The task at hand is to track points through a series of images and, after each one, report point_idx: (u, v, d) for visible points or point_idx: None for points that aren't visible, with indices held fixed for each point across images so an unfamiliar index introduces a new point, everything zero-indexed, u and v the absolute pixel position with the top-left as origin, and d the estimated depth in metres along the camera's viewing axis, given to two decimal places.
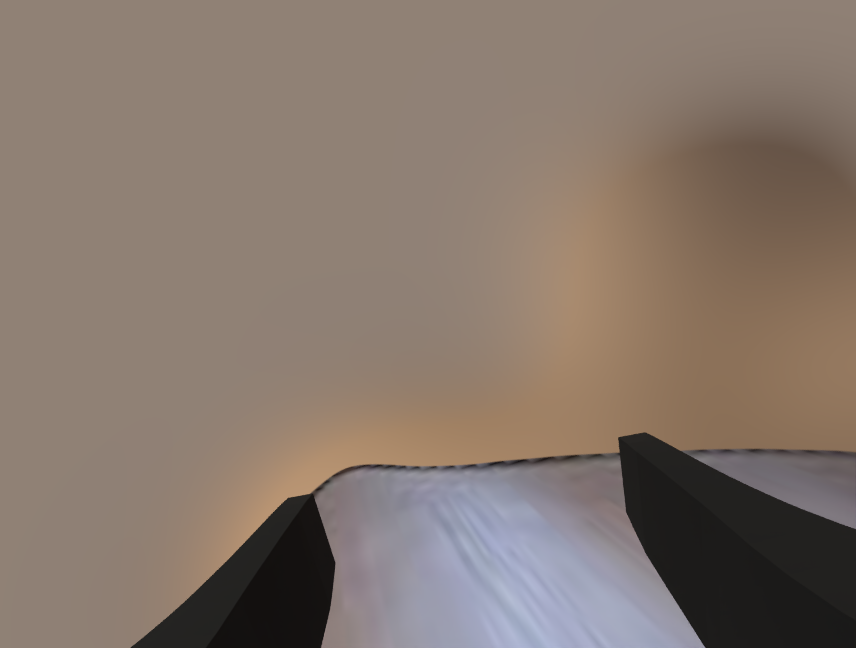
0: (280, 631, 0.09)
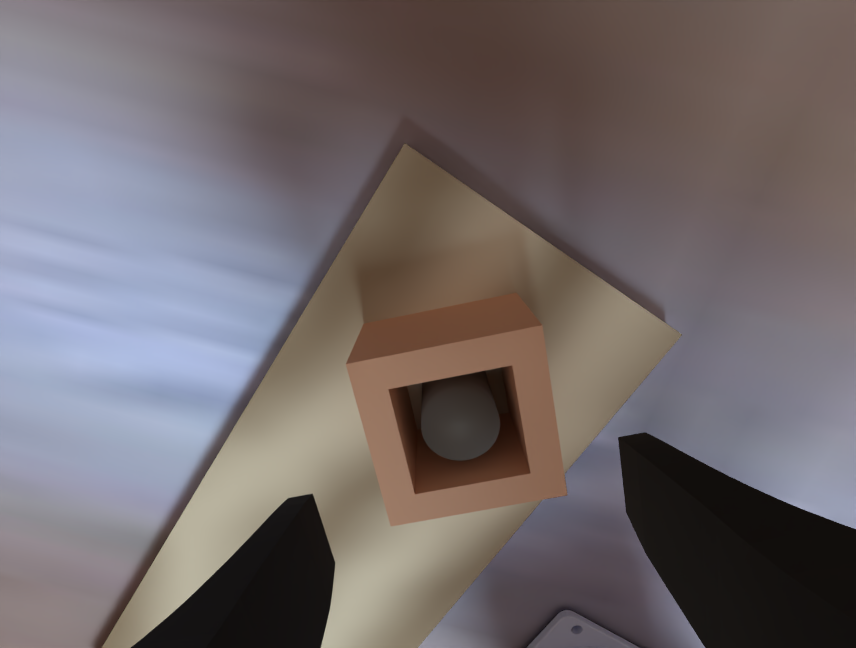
0: (280, 631, 0.09)
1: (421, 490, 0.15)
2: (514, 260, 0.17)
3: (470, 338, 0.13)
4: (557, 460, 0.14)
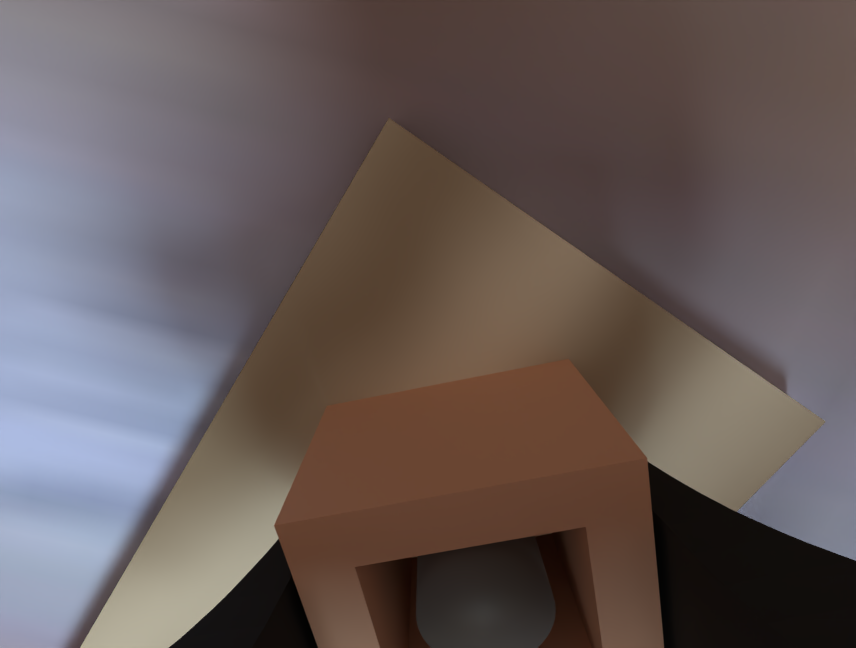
0: None
1: None
2: (567, 309, 0.10)
3: (508, 478, 0.07)
4: None
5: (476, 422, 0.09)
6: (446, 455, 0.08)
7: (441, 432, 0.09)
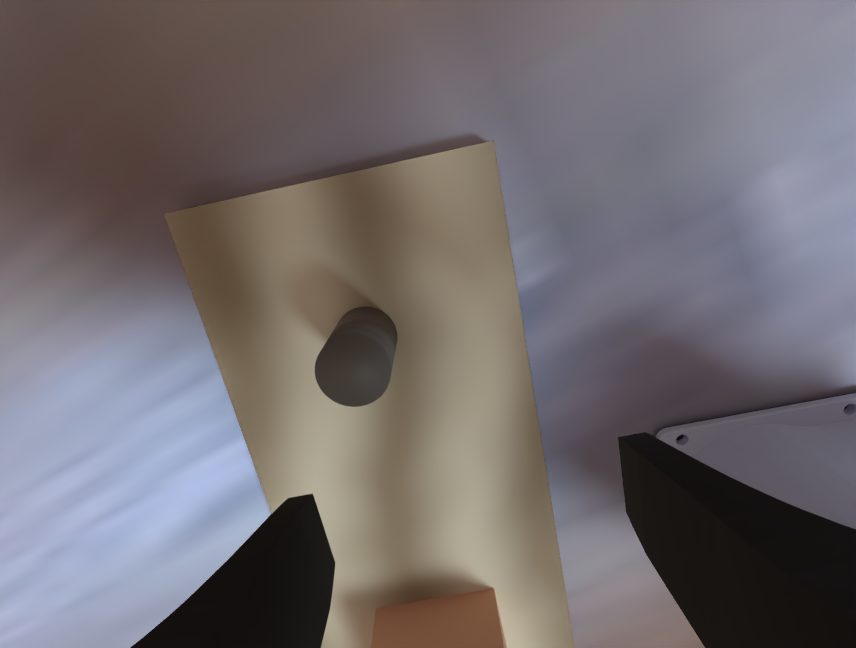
0: (280, 631, 0.09)
1: None
2: (313, 215, 0.17)
3: None
4: None
5: (446, 637, 0.20)
6: None
7: (431, 642, 0.20)
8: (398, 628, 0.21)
